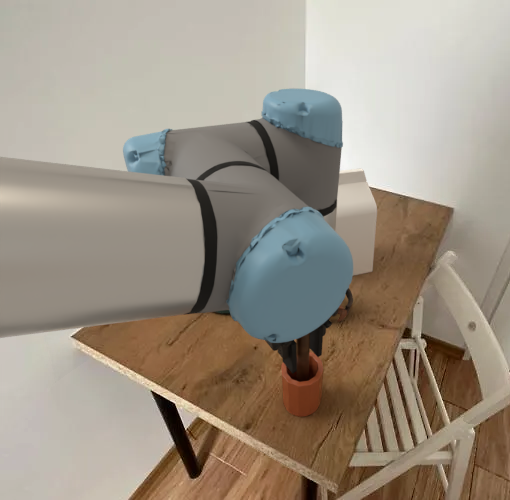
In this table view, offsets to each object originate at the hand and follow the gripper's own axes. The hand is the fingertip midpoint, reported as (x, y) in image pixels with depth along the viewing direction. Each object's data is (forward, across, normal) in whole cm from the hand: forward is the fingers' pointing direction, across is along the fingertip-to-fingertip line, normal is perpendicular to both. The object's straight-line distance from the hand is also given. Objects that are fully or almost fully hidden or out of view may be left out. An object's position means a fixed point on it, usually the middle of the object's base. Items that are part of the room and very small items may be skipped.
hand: (302, 357), depth 55 cm
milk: (+12, -31, -25) cm, 41 cm away
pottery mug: (+12, -16, -14) cm, 24 cm away
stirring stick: (+11, 0, 0) cm, 11 cm away
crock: (+11, 0, 0) cm, 11 cm away
